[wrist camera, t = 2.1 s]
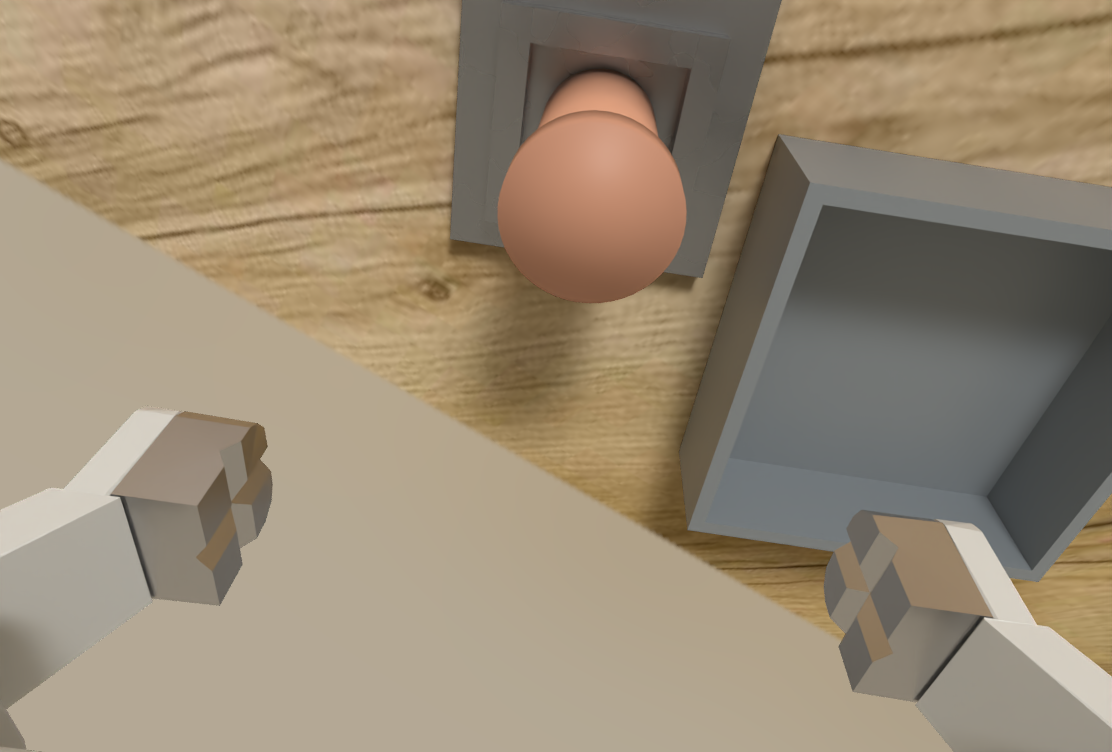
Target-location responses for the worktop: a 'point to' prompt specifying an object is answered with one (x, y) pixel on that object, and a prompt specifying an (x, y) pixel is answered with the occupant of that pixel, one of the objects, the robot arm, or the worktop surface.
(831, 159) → the slate tray
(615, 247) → the butternut squash
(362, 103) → the worktop surface
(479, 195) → the socket plate
